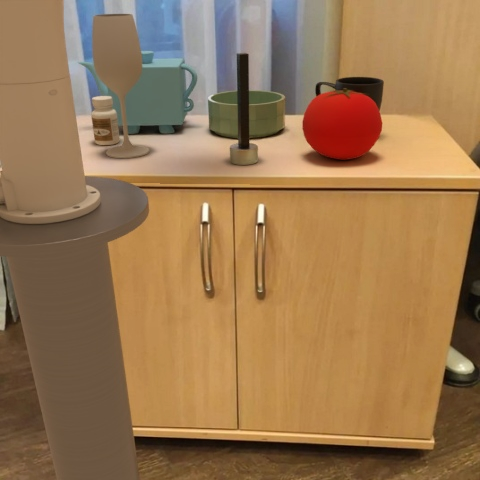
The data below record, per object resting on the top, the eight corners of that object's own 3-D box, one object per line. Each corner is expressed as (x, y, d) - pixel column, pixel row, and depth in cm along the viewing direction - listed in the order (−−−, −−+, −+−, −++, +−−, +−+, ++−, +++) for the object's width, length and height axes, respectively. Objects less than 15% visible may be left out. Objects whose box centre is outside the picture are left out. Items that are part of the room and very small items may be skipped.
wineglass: (134, 160, 97) (119, 17, 87) (95, 155, 100) (77, 16, 90) (158, 148, 103) (147, 13, 93) (121, 144, 106) (107, 13, 96)
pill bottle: (90, 144, 106) (84, 99, 103) (102, 138, 110) (97, 94, 106) (112, 146, 105) (107, 100, 101) (124, 140, 109) (119, 95, 105)
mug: (323, 126, 115) (326, 74, 111) (384, 133, 110) (390, 78, 105) (306, 136, 109) (308, 81, 104) (370, 143, 104) (375, 86, 99)
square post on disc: (236, 166, 94) (233, 56, 86) (226, 159, 97) (223, 52, 89) (262, 163, 95) (262, 54, 87) (251, 156, 98) (250, 50, 91)
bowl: (224, 142, 106) (223, 107, 103) (199, 125, 118) (198, 93, 115) (297, 134, 110) (298, 100, 107) (266, 118, 122) (266, 87, 119)
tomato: (391, 160, 95) (399, 90, 90) (325, 171, 91) (329, 98, 86) (351, 143, 104) (355, 79, 99) (289, 153, 100) (290, 86, 94)
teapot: (201, 120, 122) (198, 46, 115) (197, 133, 112) (193, 54, 105) (93, 122, 122) (83, 48, 115) (79, 135, 112) (68, 56, 106)
